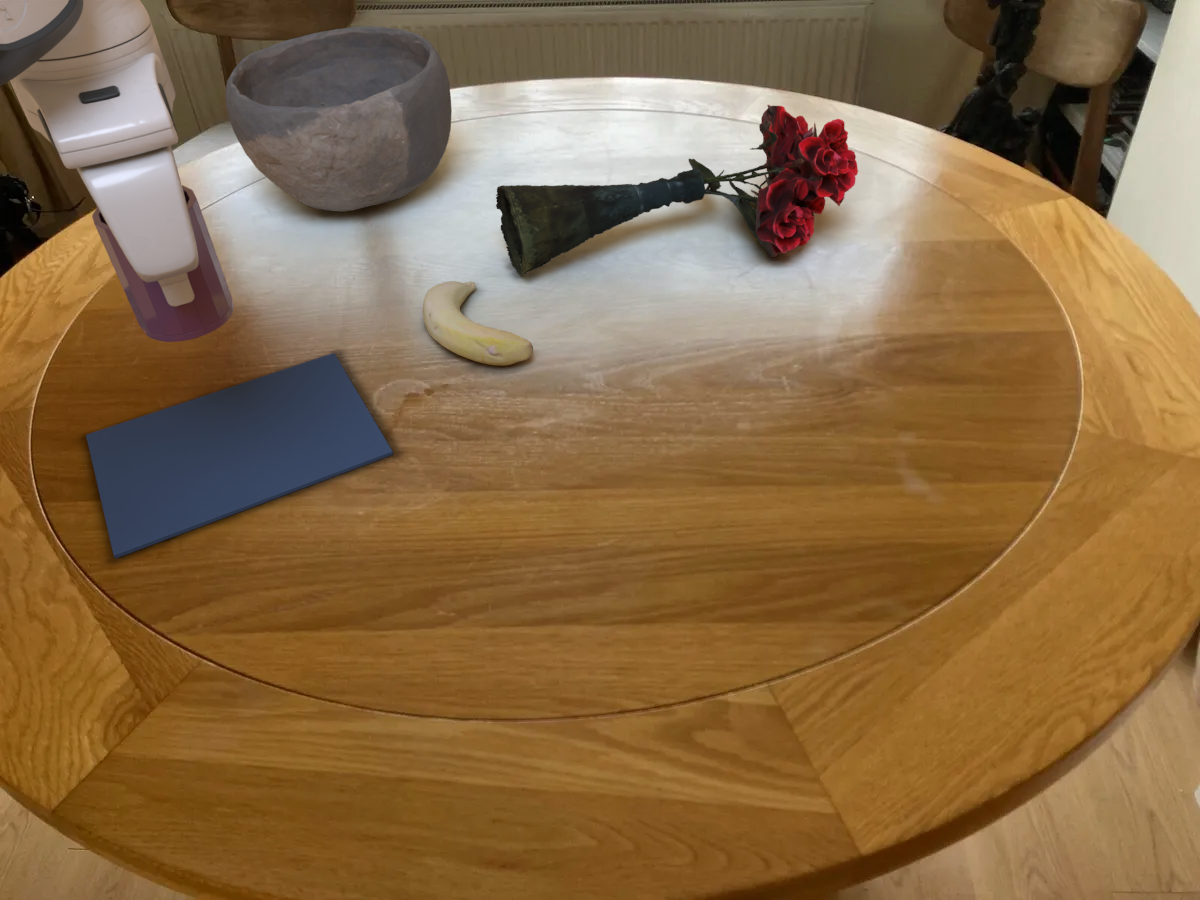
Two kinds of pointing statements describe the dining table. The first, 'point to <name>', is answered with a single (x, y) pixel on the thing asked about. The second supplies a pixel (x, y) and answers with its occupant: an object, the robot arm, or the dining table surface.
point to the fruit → (469, 328)
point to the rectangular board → (230, 452)
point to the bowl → (343, 115)
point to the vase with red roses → (691, 195)
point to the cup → (149, 298)
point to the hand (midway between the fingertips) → (170, 273)
